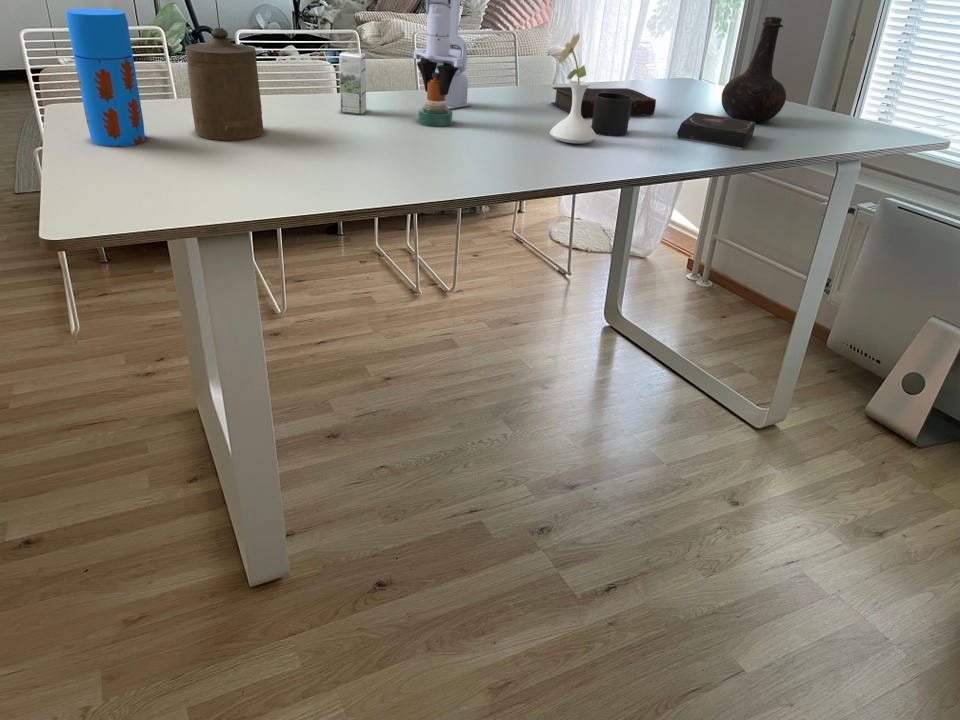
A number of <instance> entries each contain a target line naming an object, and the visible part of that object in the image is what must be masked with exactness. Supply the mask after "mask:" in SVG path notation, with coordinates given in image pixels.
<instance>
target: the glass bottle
mask: <svg viewBox="0 0 960 720" xmlns="http://www.w3.org/2000/svg"><path fill="white" fill-rule="evenodd" d="M782 21H783V18H782V17H777V16H765V17H764V22H763V23H762V25H763V26H762V30H761V33H760V37H759V40H758V43H757V46H756V48H755V51H754V54H753V57H752V59H751V61H750V63H749V65H748V67H747V68H746V70H745V72H743V73H742V74H740V75H738V76H735V77H734V78H731V79H730V80H729V81H728V82H727V83H726V84H725V86H724V87H723V88H722V89H723V90H722V92H721V105H722V109H723V111H724V112H725V114H726V115H727V116H728V117H729V118H733V119H740V120H746V121H753V122H756V124H763V123H766V122H769V121H770V120H772V119H774V118H775V117H776V116H777V115H778V114H779V113H780V111H781V110H783V107H784V106H785V104H786V100H787V92H786V89H785V87H784V85H783V84H782V83H781V82H780V81H778V80H777V79H776V78H774V75H773V63H774V56H775V50H776V46H777V40H778V35H779V32H780V29H781V28H783V27H784V25H783V24H782Z"/></svg>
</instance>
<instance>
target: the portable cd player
mask: <svg viewBox="0 0 960 720" xmlns="http://www.w3.org/2000/svg"><path fill="white" fill-rule="evenodd" d="M756 124H757V123H756V122H753V121H746V120H740V119H733V118H731V117H727V116H722V115H721V116H720V115H714V114H707V113H699V112H693V113H692V114H691V115H690V116H689V117H687V118H686V119H685V120H684V121H682V122H681V123H680V126H679V128H678V130H677V132H676V135H677V139H679V140H684V141H690V142H696V143H701V144H708V145H713V146H720V147H726V148H731V149H737V150H742V151H743V150H744V149H745V147H746V146H747V145H748V143H749V142H750V141H751V139H752V138H753V135H754V133H755V127H756Z"/></svg>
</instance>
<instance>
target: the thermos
mask: <svg viewBox="0 0 960 720" xmlns="http://www.w3.org/2000/svg"><path fill="white" fill-rule="evenodd" d="M65 13H66V23H67V29H68V32H69V38H70V44H71V48H72V54H73V59H74V64H75V65H74V66H75V70H76V75H77V80H78V83H79V84H78V85H79V90H80V95H81V99H82V105H83V110H84V115H85V120H86V124H87V129H88V133H89V136H90V140H91V142H92V143H93V144H94V145H97V146H103V147H114V148H115V147H130V146H135V145H140V144H141V143H143V142H145V141H146V134H145V124H144V117H143V110H142V104H141V97H140V91H139V85H138V84H139V83H138V79H137V73H136V66H135V61H134V60H135V59H134V55H133V48H132V41H131V35H130V29H129V23H128V18H127V14H126V12H125V11H123V10H117V9H108V8H74V9H68V10H67V9H66V10H65Z"/></svg>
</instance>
